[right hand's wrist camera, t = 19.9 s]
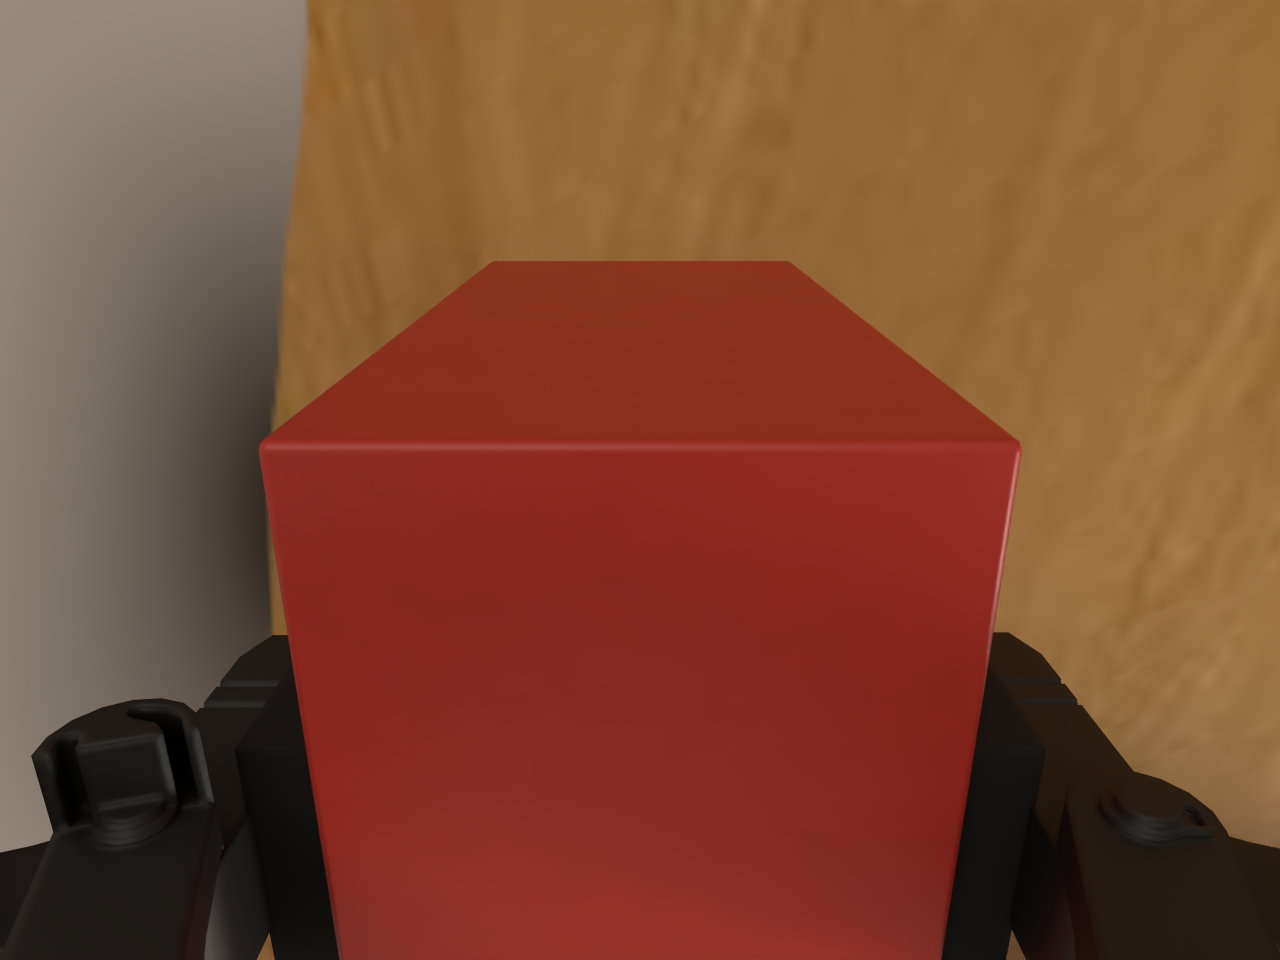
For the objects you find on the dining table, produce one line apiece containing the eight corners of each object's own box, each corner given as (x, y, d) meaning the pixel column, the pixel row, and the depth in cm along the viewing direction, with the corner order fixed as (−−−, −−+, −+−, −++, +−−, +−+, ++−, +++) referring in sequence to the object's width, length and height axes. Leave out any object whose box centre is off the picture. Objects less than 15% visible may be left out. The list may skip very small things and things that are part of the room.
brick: (490, 260, 17) (252, 441, 7) (791, 260, 17) (1028, 442, 7) (512, 651, 20) (373, 1198, 10) (768, 651, 20) (906, 1199, 10)
